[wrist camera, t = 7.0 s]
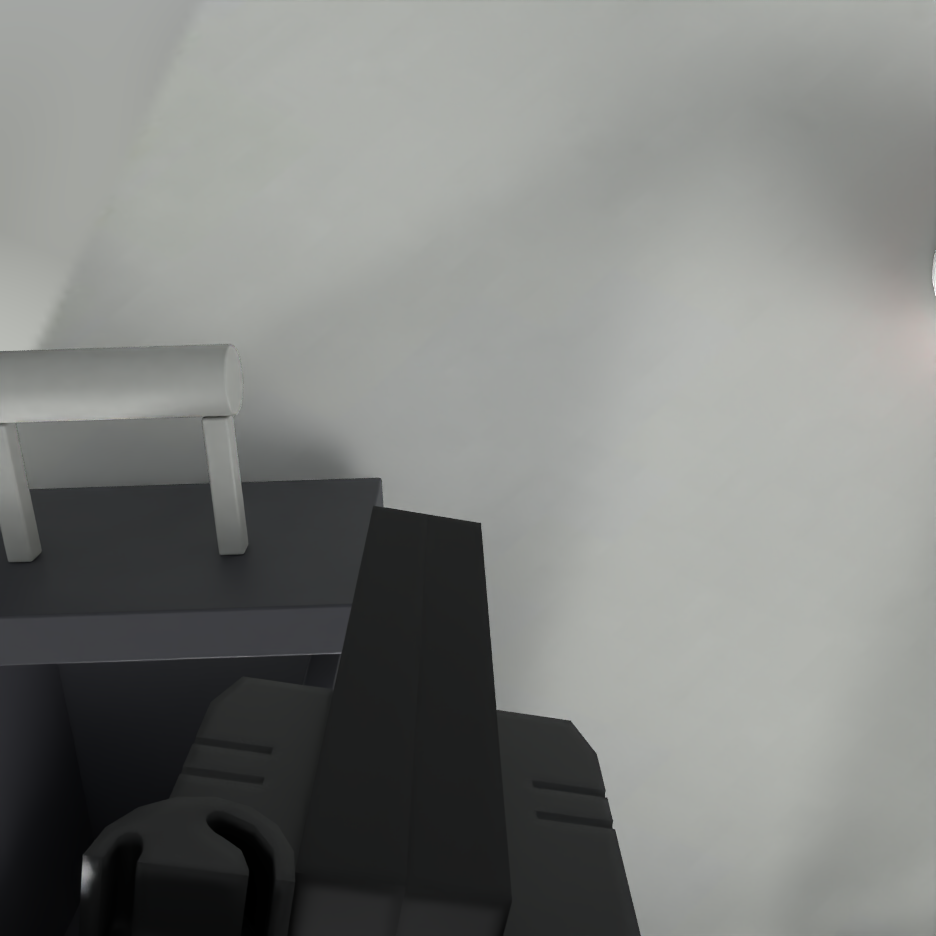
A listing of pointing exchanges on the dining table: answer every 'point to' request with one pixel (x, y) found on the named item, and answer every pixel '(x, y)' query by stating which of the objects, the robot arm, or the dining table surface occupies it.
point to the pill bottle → (934, 272)
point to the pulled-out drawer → (143, 606)
